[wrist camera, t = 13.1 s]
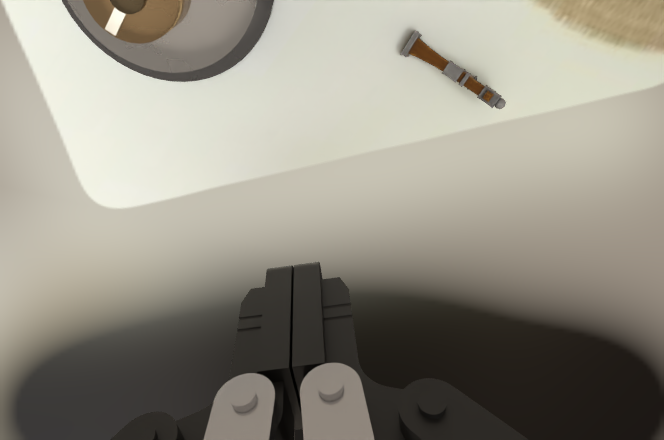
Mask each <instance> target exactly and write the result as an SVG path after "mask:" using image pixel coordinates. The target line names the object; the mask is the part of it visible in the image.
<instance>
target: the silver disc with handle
mask: <svg viewBox="0 0 664 440" xmlns="http://www.w3.org/2000/svg"><path fill="white" fill-rule="evenodd" d="M67 1H68V3H69V5H70V6H71V8H72V10H73V11H74V13H75V14H76V16H77V17H78V18H79V20H80V21H81V22H82V24H83V25H84V26H85V27H86V29H87V30H88V31H89V32H90V33H91V34H92V35H93V36H94V37H95V38H96V39H97V40H98V41H100V42H101V43H102V44H103V45H104V46H105V47H107V48H108V49H109V50H111V51H112V52H114V53H115V54H117V55H118V56H120V57H122V58H124V59H125V60H127V61H129V62H131V63H134V64H136V65H138V66H141V67H144V68H147V69H151V70H154V71H161V72H169V73H181V72H190V71H194V70H198V69H202V68H204V67H207V66H209V65H212V64H213V63H215V62H217V61H218V60H220V59H222V58H223V57H224V56H225V55H227V54H228V53H229V52H230V51H231V50H232V49H233V48H234V47H235V46H236V45H237V44H238V43H239V41H240V40H241V38H242V37H243V35H244V34H245V32H246V30H247V28H248V26H249V24H250V22H251V20H252V18H253V15H254V12H255V9H256V5H257V0H191V5H190V8H189V11H188V13H187V15H186V16H185V18H184V19H183V20H182V22H181V23H179V24H178V25H177V26H176V27H174V28H173V29H172V30H170V31H169V32H168V33H166V34H165V35H164V36H162V37H161V38H159V39H157V40H155V41H153V42H149V43H142V44H137V43H129V42H126V41H122V40H120V39H118V38H116V37H114V36H112V35H110V34H109V33H108V32H106V31H105V30H104V29H103V28H102V27H100V26H99V25H98V23H97V22H96V21H95V20H94V19H93V17H92V16H91V15H90V13H89V11H88V10H87V8H86V6H85V4H84V1H83V0H67Z"/></svg>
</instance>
